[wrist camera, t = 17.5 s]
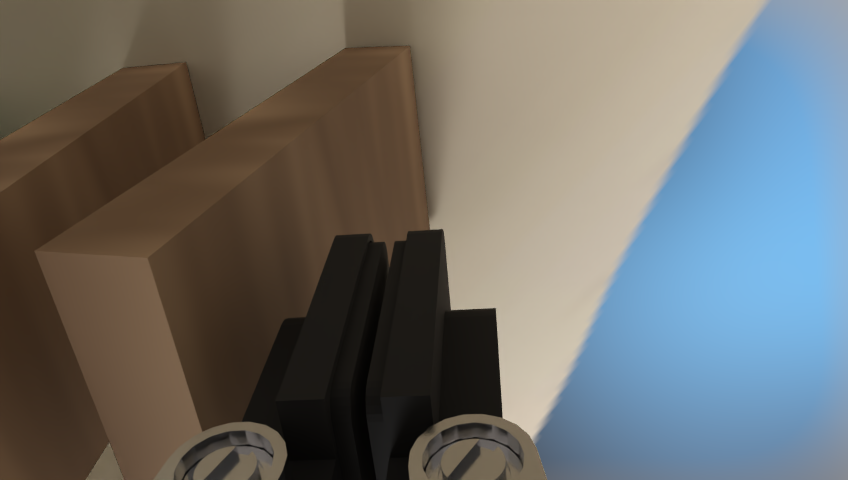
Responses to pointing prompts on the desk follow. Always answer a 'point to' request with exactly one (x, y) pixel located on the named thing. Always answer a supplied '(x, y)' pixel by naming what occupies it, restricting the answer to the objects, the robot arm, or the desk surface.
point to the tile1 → (233, 249)
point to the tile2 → (49, 217)
